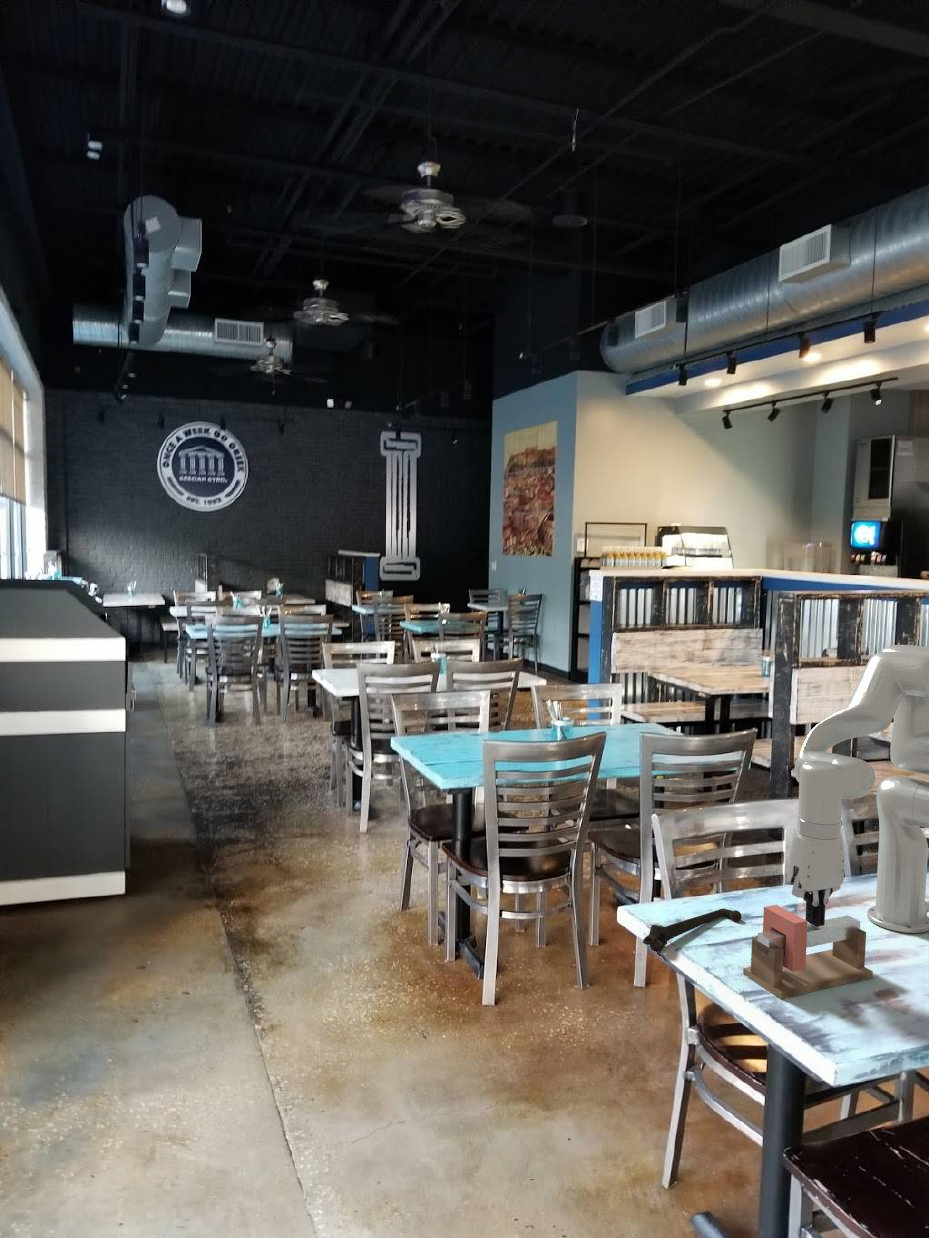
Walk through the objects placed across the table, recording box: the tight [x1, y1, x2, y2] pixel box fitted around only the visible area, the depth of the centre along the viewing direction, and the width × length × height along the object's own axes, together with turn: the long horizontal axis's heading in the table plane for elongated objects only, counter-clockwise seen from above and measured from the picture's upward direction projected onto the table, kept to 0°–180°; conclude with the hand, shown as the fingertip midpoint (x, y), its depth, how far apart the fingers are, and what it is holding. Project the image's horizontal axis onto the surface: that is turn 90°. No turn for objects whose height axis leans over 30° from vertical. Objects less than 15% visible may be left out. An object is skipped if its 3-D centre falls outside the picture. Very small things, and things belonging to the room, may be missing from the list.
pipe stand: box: [742, 928, 874, 1000], centre depth 170 cm, size 22×10×8 cm, turn 113°
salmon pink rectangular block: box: [762, 904, 809, 972], centre depth 168 cm, size 3×8×9 cm, turn 23°
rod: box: [757, 915, 861, 955], centre depth 170 cm, size 22×3×3 cm, turn 113°
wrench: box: [642, 907, 742, 953], centre depth 187 cm, size 5×5×30 cm
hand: (814, 923), depth 170 cm, fingers closed
